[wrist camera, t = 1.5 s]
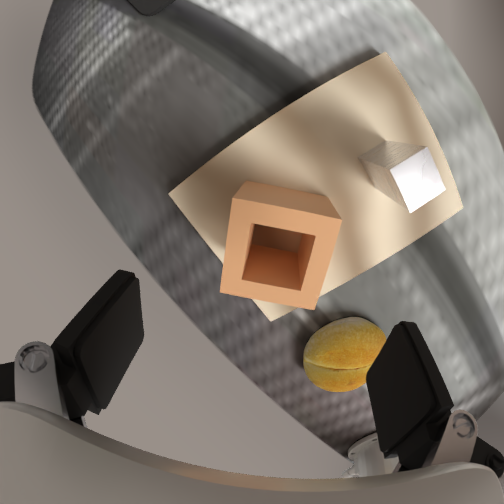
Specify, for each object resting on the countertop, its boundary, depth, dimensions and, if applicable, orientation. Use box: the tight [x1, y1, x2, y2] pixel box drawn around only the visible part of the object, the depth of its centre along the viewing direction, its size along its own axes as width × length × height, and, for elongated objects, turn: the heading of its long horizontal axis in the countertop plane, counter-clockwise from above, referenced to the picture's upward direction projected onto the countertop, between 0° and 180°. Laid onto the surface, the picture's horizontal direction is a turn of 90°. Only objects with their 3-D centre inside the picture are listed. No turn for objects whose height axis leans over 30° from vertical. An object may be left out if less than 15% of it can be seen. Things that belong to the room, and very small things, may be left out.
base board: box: [169, 52, 463, 321], centre depth 20 cm, size 20×14×1 cm
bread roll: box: [303, 317, 386, 392], centre depth 25 cm, size 8×9×4 cm
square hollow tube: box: [220, 181, 342, 310], centre depth 18 cm, size 6×6×6 cm
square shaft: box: [358, 141, 445, 213], centre depth 15 cm, size 3×3×6 cm
